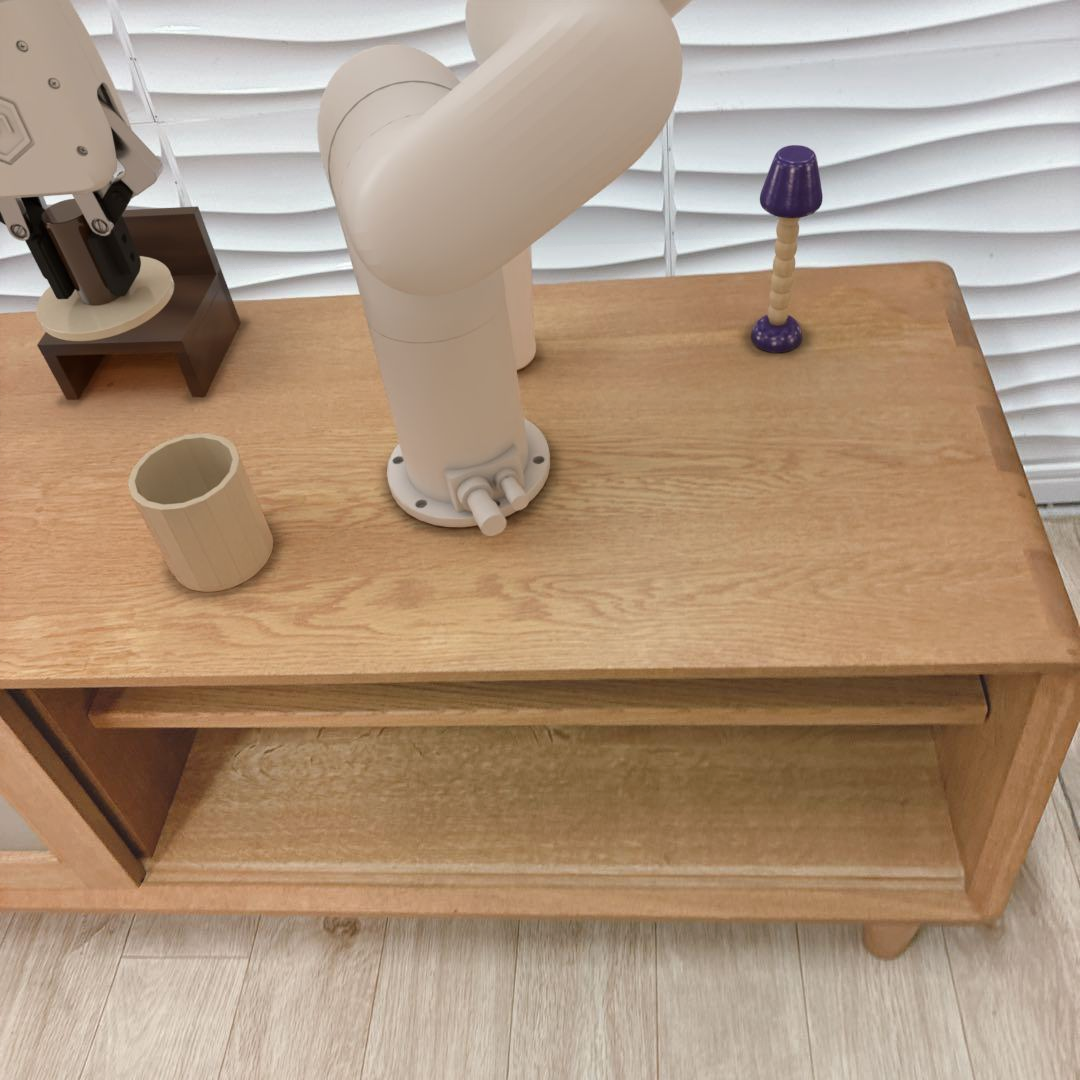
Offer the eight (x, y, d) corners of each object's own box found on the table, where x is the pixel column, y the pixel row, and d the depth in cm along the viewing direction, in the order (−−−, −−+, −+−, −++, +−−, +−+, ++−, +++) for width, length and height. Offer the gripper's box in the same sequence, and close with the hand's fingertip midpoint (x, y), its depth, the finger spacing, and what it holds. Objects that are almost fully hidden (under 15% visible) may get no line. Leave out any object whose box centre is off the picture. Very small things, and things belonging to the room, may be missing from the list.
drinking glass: (536, 383, 90) (514, 222, 79) (459, 380, 91) (427, 221, 81) (552, 335, 94) (533, 176, 84) (478, 332, 96) (450, 176, 85)
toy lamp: (807, 322, 92) (824, 135, 80) (810, 355, 89) (829, 166, 77) (750, 323, 93) (758, 139, 81) (751, 357, 89) (760, 169, 77)
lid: (189, 320, 64) (148, 219, 60) (52, 366, 63) (-2, 266, 58) (164, 258, 70) (124, 161, 65) (37, 298, 68) (-14, 202, 63)
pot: (284, 568, 78) (249, 483, 72) (181, 606, 77) (137, 523, 71) (260, 504, 83) (226, 420, 77) (164, 539, 82) (121, 456, 76)
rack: (205, 396, 94) (155, 278, 85) (66, 400, 95) (3, 284, 87) (240, 322, 101) (198, 206, 92) (111, 326, 103) (58, 213, 94)
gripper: (-250, 2, 50) (-52, 328, 63) (76, -29, 48) (211, 315, 61) (-166, -55, 55) (1, 258, 69) (132, -85, 53) (245, 244, 66)
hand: (99, 282), depth 65 cm, fingers closed on lid, 2 cm apart
